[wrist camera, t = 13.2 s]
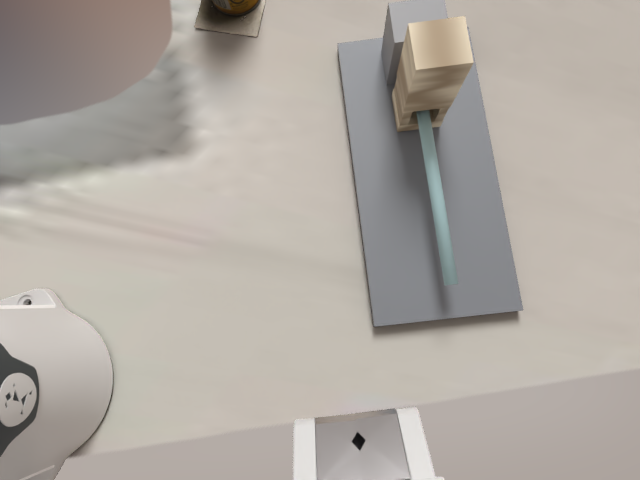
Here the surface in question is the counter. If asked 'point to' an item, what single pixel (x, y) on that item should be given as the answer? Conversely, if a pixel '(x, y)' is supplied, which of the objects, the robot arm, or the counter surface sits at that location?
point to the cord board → (424, 190)
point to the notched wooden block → (431, 70)
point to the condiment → (231, 16)
